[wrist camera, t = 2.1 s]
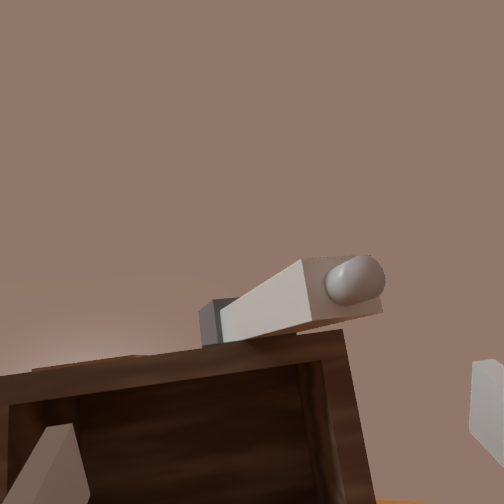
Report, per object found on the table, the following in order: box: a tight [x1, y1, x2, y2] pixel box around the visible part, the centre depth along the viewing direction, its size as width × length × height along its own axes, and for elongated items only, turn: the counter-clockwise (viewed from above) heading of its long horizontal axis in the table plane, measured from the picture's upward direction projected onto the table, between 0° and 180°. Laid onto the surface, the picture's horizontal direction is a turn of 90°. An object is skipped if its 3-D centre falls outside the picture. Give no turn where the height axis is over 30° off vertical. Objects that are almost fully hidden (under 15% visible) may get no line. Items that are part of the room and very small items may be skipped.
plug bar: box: [199, 255, 385, 345], centre depth 29 cm, size 26×5×4 cm, turn 18°
